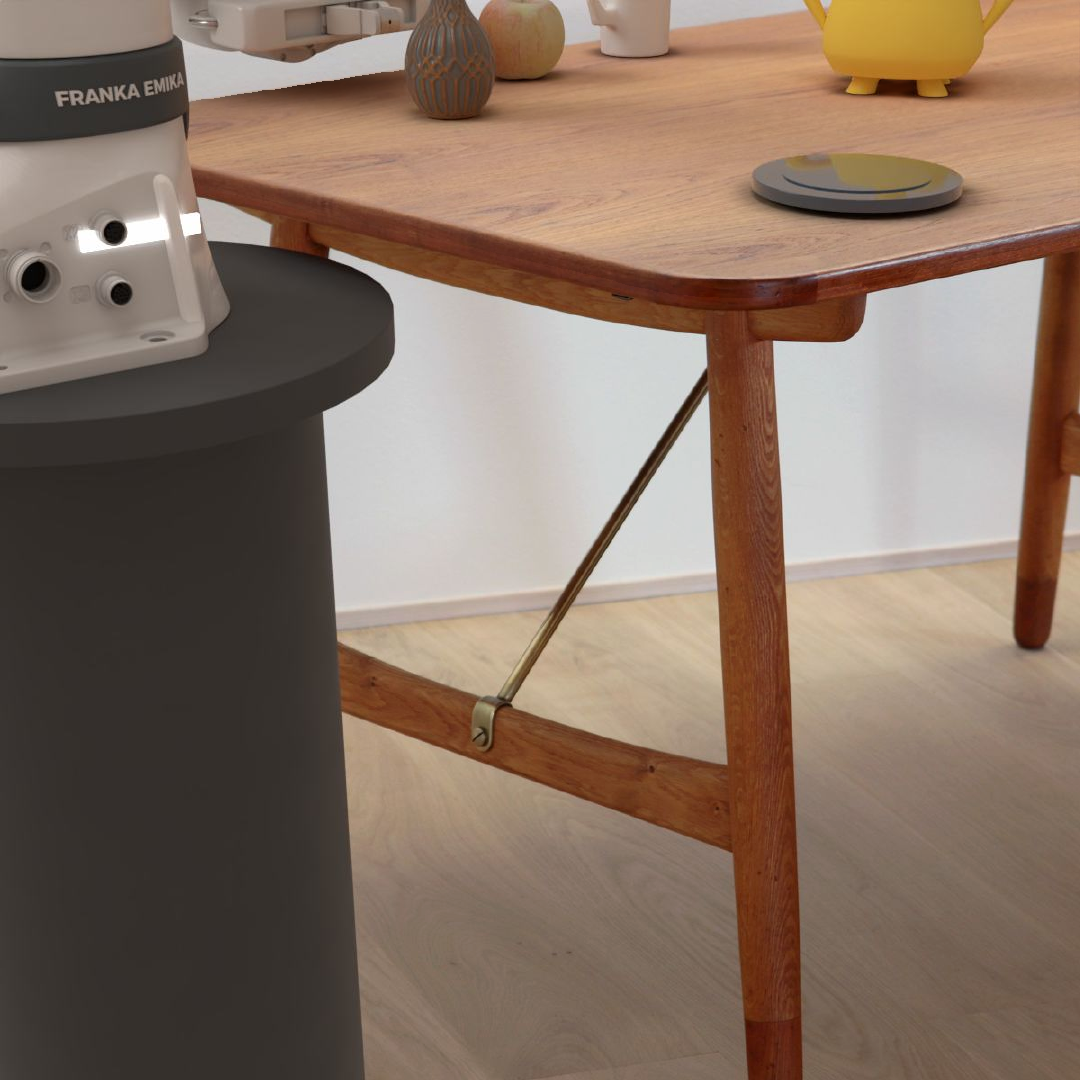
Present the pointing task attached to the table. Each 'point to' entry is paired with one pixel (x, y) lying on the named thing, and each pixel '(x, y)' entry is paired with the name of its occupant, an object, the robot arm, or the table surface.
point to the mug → (632, 26)
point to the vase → (449, 62)
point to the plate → (857, 183)
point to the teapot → (904, 40)
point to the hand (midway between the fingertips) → (390, 22)
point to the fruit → (524, 36)
